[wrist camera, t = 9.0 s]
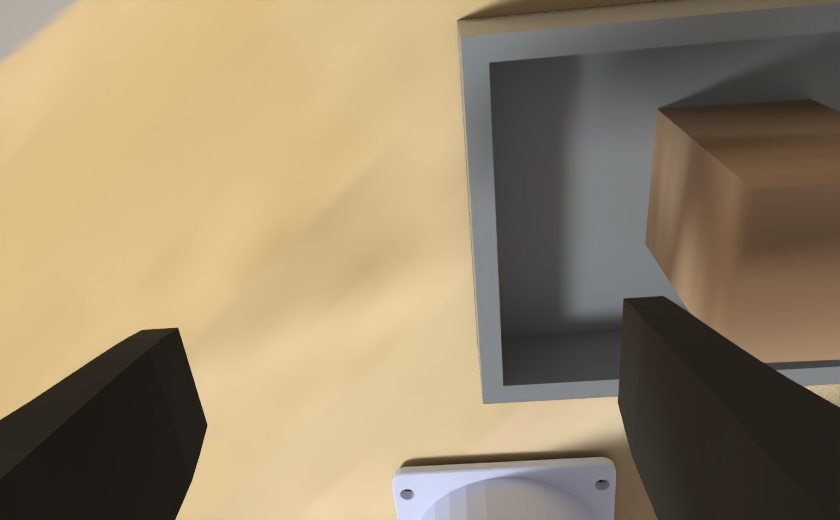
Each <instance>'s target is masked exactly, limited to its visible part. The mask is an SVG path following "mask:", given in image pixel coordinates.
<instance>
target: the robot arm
mask: <svg viewBox="0 0 840 520" xmlns="http://www.w3.org/2000/svg"><path fill="white" fill-rule="evenodd" d="M618 405H619V408H620V412H621V416H622V420H623V424H624V428H625V432H626V435H627V439H628V442H629V446H630V450H631V453H632V457H633V460H634V462H635V465H636V467H637V470H638V472H639V474H640V477H641V479H642V482H643V484H644V487H645V489H646V491H647V494H648V496H649V499H650V501H651V504H652V506H653V508H654V511H655V513H656V516H657V518H658V520H840V407H838V406H836V405H834V404H833V403H831V402H829V401H827V400H825V399H824V398H822V397H820V396H819V395H817V394H815V393H813V392H812V391H810V390H808V389H806V388H805V387H803V386H801V385H800V384H798V383H796V382H794V381H793V380H791V379H789V378H787V377H786V376H784V375H783V374H781V373H779V372H778V371H776V370H775V369H773V368H771V367H770V366H768V365H766V364H765V363H763V362H762V361H760V360H759V359H757V358H756V357H754V356H752V355H751V354H749V353H748V352H746V351H745V350H743V349H742V348H740V347H739V346H737V345H736V344H734V343H733V342H731V341H730V340H728V339H727V338H725V337H724V336H722V335H721V334H719V333H718V332H717V331H715V330H714V329H712V328H711V327H709V326H708V325H706V324H705V323H703V322H702V321H701V320H699V319H698V318H696V317H695V316H693V315H692V314H690V313H689V312H688V311H686V310H685V309H683V308H682V307H680V306H679V305H677V304H676V303H674V302H673V301H671V300H669V299H668V298H666V297H664V296H653V297H637V298H623V316H622V335H621V354H620V373H619V392H618ZM206 429H207V422H206V419H205V416H204V412H203V409H202V406H201V402H200V399H199V396H198V392H197V389H196V386H195V382H194V379H193V376H192V373H191V369H190V366H189V363H188V359H187V356H186V353H185V349H184V346H183V343H182V339H181V336H180V333H179V329H178V328H166V329H151V330H141V331H140V332H138V333H136V334H134V335H132V336H130V337H128V338H127V339H125V340H123V341H121V342H120V343H118V344H117V345H115V346H113V347H112V348H110V349H109V350H107V351H106V352H104V353H102V354H101V355H99V356H98V357H96V358H95V359H93V360H92V361H90V362H89V363H87V364H86V365H84V366H83V367H81V368H80V369H78V370H77V371H75V372H74V373H72V374H71V375H69V376H68V377H66V378H65V379H63V380H62V381H60V382H59V383H57V384H56V385H54V386H53V387H51V388H50V389H48V390H47V391H45V392H44V393H42V394H41V395H39V396H38V397H36V398H35V399H33V400H32V401H30V402H28V403H27V404H25V405H24V406H22V407H20V408H19V409H17V410H16V411H14V412H12V413H11V414H9V415H8V416H6V417H4V418H3V419H1V420H0V520H175V519H176V517H177V514H178V512H179V510H180V507H181V505H182V503H183V500H184V498H185V496H186V493H187V491H188V489H189V486H190V484H191V482H192V479H193V475H194V472H195V469H196V465H197V462H198V459H199V456H200V452H201V448H202V444H203V440H204V437H205V433H206ZM598 480H604V481H603V482H597V481H598ZM392 485H393V492H394V499H395V505H396V512H397V519H398V520H614V509H615V491H616V469H615V466H614V463H613V462H612V460H611V459H608V458H606V457H590V458H570V459H551V460H531V461H511V462H492V463H472V464H452V465H433V466H413V467H402V468H399V469H397V470H396V471H395V472H394V474H393V482H392ZM405 489H410V490H412V491H409V492H408V491H404V490H405Z"/></svg>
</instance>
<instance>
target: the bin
mask: <svg viewBox="0 0 840 520" xmlns="http://www.w3.org/2000/svg"><path fill="white" fill-rule="evenodd" d="M457 26H458V42H459V58H460V74H461V89H462V105H463V121H464V137H465V153H466V168H467V184H468V200H469V216H470V232H471V248H472V263H473V279H474V295H475V311H476V327H477V343H478V354H479V365H480V376H481V386H482V397H483V404H492V403H510V402H528V401H545V400H563V399H581V398H598V397H616V396H618V392H619V373H620V354H621V335H622V316H623V298H637V297H653V296H664V297H666V298H668V299H669V300H671V301H673V302H674V303H676V304H677V305H679V306H680V307H682V308H683V309H685V310H686V311H688V309H687V308H686V306H685V305H684V303H683V302H682V300H681V299H680V297H679V296H678V294H677V292H676V291H675V289H674V288H673V286H672V285H671V283H670V282H669V280H668V279H667V277H666V276H665V274H664V272H663V271H662V269H661V268H660V266H659V265H658V263H657V262H656V260H655V259H654V257H653V256H652V254H651V252H650V251H649V249H648V248H647V246H646V245H645V239H646V228H647V216H648V205H649V194H650V183H651V171H652V160H653V149H654V137H655V126H656V115H657V109H665V108H681V107H696V106H712V105H727V104H742V103H758V102H773V101H789V100H804V99H812V100H814V101H816V102H819V103H821V104H823V105H825V106H827V107H829V108H831V109H834V110H836V111H838V112H840V0H665V1H654V2H644V3H633V4H622V5H611V6H601V7H590V8H579V9H569V10H558V11H547V12H537V13H526V14H515V15H505V16H494V17H483V18H473V19H462V20H457ZM688 312H689V311H688ZM765 364H766V365H768V366H770V367H771V368H773V369H775V370H776V371H778V372H779V373H781V374H783V375H784V376H786V377H787V378H789V379H791V380H793V381H794V382H796V383H798V384H800V385H801V386H810V385H828V384H840V360H818V361H795V362H772V363H765Z"/></svg>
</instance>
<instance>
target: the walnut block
mask: <svg viewBox="0 0 840 520" xmlns="http://www.w3.org/2000/svg"><path fill="white" fill-rule="evenodd" d="M645 245H646V246H647V248H648V249H649V251H650V252H651V254H652V256H653V257H654V259H655V260H656V262H657V263H658V265H659V266H660V268H661V269H662V271H663V272H664V274H665V276H666V277H667V279H668V280H669V282H670V283H671V285H672V286H673V288H674V289H675V291H676V292H677V294H678V296H679V297H680V299H681V300H682V302H683V303H684V305H685V306H686V308H687V309H688V311H689V313H690V314H692V315H693V316H695V317H696V318H698V319H699V320H701V321H702V322H703V323H705V324H706V325H708V326H709V327H711V328H712V329H714V330H715V331H717V332H718V333H719V334H721V335H722V336H724V337H725V338H727V339H728V340H730V341H731V342H733V343H734V344H736V345H737V346H739V347H740V348H742V349H743V350H745V351H746V352H748V353H749V354H751V355H752V356H754V357H756V358H757V359H759V360H760V361H762V362H763V363H772V362H795V361H818V360H840V112H838V111H836V110H834V109H831V108H829V107H827V106H825V105H823V104H821V103H819V102H816V101H814V100H812V99H804V100H789V101H773V102H758V103H742V104H727V105H712V106H696V107H681V108H665V109H657V115H656V126H655V137H654V149H653V160H652V171H651V183H650V194H649V205H648V216H647V228H646V239H645Z"/></svg>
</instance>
